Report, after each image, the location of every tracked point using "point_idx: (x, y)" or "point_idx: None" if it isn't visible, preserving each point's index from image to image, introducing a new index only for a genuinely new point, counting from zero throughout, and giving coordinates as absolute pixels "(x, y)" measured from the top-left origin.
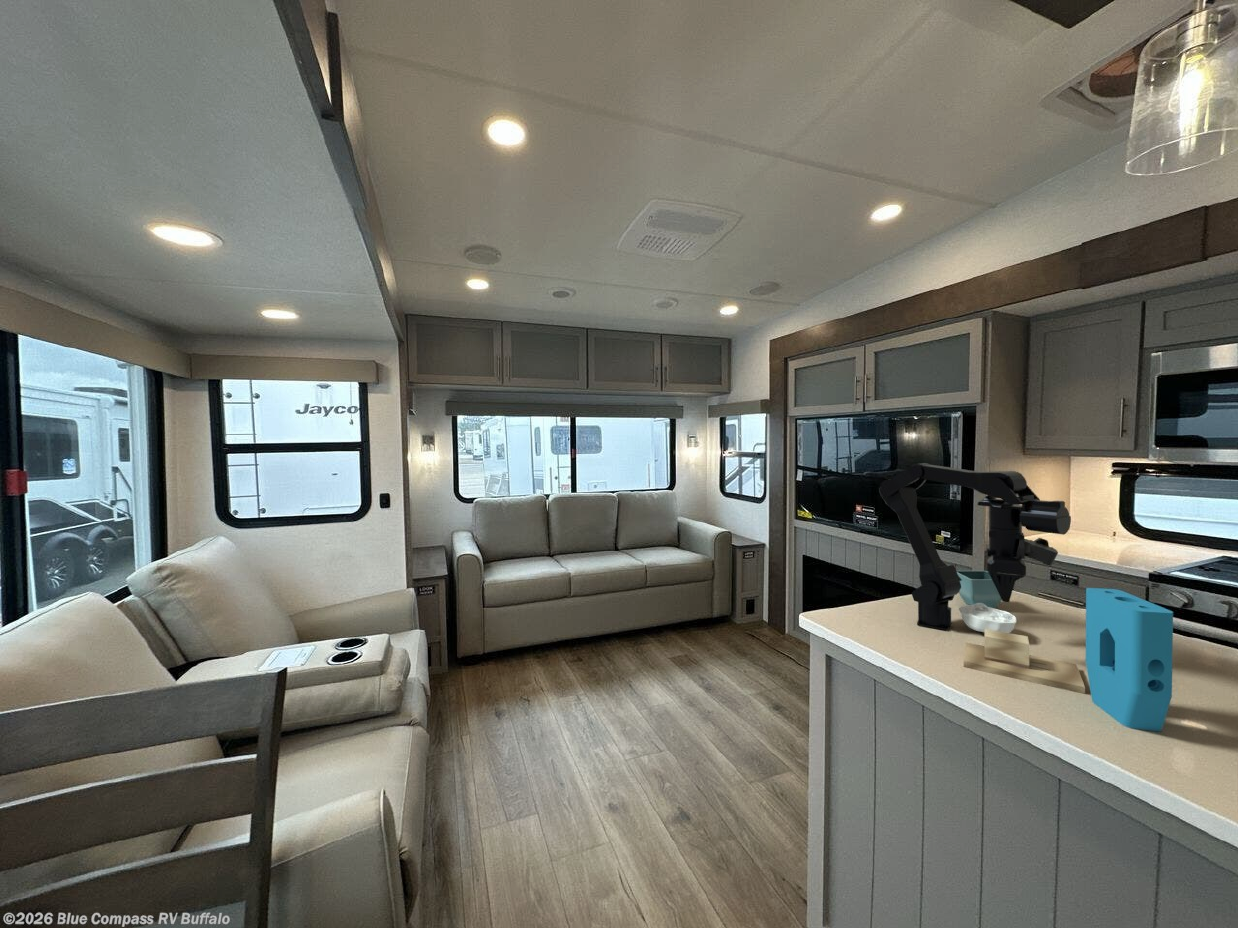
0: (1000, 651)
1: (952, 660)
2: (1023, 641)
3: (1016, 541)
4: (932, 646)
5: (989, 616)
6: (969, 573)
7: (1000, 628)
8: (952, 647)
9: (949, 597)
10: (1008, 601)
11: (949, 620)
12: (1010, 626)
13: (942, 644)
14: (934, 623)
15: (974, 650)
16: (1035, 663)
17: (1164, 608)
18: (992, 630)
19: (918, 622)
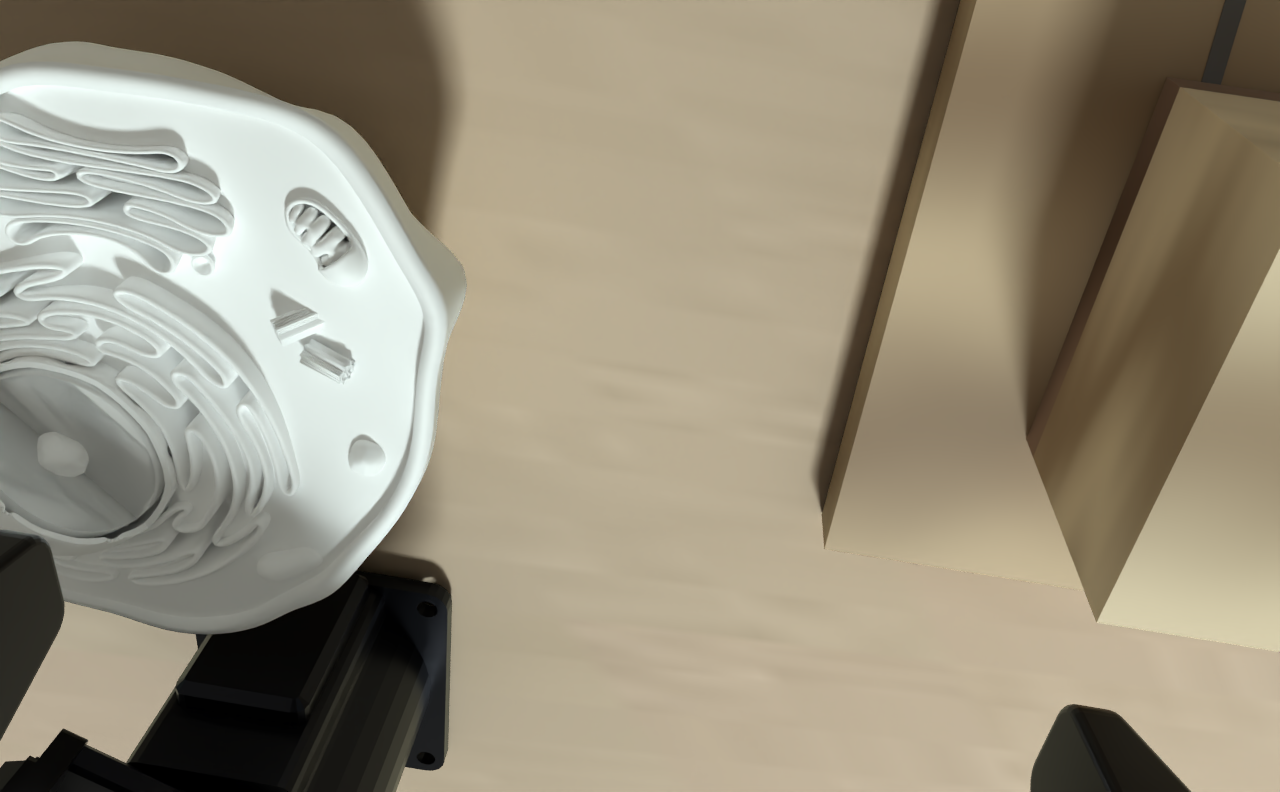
0: None
1: (1188, 641)
2: None
3: None
4: (905, 719)
5: (269, 394)
6: None
7: (453, 268)
8: (865, 601)
9: (63, 779)
10: (1117, 725)
11: (349, 626)
12: (376, 163)
13: (822, 655)
14: (420, 694)
15: (1028, 514)
16: (1266, 11)
17: None
18: (1139, 558)
19: (408, 759)
